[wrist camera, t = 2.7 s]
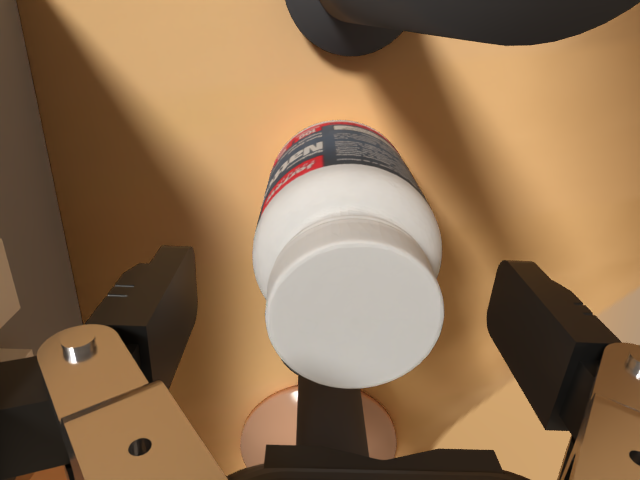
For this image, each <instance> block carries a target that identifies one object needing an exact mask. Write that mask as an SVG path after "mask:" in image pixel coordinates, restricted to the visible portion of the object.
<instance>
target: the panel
mask: <svg viewBox="0 0 640 480" xmlns="http://www.w3.org/2000/svg"><path fill="white" fill-rule="evenodd" d="M80 325H83V323H82V318H81V313H80V308H79V303H78V298H77V293H76V289H75V284H74V279H73V274H72V269H71V264H70V260H69V255H68V250H67V245H66V240H65V235H64V230H63V226H62V221H61V216H60V211H59V206H58V201H57V196H56V192H55V187H54V182H53V177H52V172H51V167H50V162H49V158H48V153H47V148H46V143H45V138H44V133H43V129H42V124H41V119H40V114H39V109H38V104H37V99H36V95H35V90H34V85H33V80H32V75H31V70H30V65H29V61H28V56H27V51H26V46H25V41H24V36H23V32H22V27H21V22H20V17H19V12H18V7H17V2H16V0H0V362H4V361H10V360H16V359H22V358H28V357H33V356H37V351H38V349H39V347H40V346H41V345H42V344H43V343H44V342H45V341H46V340H47V339H48V338H50V337H51V336H53V335H54V334H56V333H58V332H60V331H63V330H65V329H68V328H71V327H75V326H80ZM15 480H68V478H67V475H66V472H65V469H64V465H63V466H58V467H54V468H50V469H46V470H42V471H38V472H34V473H29V474H25V475H21V476H17V477H16V478H15Z"/></svg>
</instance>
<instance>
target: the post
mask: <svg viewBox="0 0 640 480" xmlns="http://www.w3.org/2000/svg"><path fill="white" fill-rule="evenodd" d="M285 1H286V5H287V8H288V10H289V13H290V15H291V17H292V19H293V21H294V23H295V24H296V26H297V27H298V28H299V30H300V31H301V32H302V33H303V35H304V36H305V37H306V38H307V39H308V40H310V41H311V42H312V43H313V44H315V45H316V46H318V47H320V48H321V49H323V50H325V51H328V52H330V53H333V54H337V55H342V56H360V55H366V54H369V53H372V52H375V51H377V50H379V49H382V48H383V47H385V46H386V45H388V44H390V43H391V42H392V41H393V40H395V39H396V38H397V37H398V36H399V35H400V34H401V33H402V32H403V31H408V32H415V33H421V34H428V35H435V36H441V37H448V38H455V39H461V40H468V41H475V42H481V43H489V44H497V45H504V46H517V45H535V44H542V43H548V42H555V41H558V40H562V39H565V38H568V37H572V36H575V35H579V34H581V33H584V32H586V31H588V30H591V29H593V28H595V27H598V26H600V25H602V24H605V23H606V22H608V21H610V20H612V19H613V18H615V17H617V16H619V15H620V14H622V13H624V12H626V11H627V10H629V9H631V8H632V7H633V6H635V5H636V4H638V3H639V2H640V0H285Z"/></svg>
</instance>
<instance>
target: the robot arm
mask: <svg viewBox="0 0 640 480" xmlns="http://www.w3.org/2000/svg"><path fill="white" fill-rule="evenodd" d="M197 302H198V301H197V284H196V268H195V254H194V250H193V248H192V247H186V246H161V247H160V249H159V250H158V252H157V253H156V255H155V256H154V258H153V259H152V261H151V262H150V263H149V264H145V263H139V264H138V265H136V266H134V267H133V268H131V269H129V270H128V271H126V272H124V273H123V275H122V276H121V277H120V279H119V280H118V281H117V282H116V284H115V287H113V288H112V289H111V290H110V292H109V293H108V296H106V297H105V298H104V300H103V301H102V302H101V303H100V305H99V306H98V307H97V309H96V310H95V311H94V313H93V314H92V315H91V317H90V318H89V319H88V320H87V322H86V323H85V324H84V325H80V326H75V327H71V328H68V329H65V330H63V331H60V332H58V333H56V334H54V335H53V336H51V337H50V338H48V339H47V340H46V341H45V342H44V343H43V344H42V345H41V346H40V347H39V349H38V351H37V356H33V357H28V358H22V359H16V360H10V361H4V362H0V480H15V478H16V477H17V476H21V475H25V474H29V473H34V472H38V471H42V470H46V469H50V468H54V467H58V466H63V465H64V469H65V472H66V475H67V478H68V480H530V479H528V478H525V477H523V476H520V475H517V474H514V473H512V472H509V471H504V470H502V468H501V466H500V464H499V461H498V459H497V457H496V454H495V452H494V450H467V449H466V450H464V449H435V450H431V451H426V452H421V453H417V454H412V455H407V456H403V457H398V458H393V459H388V460H379V459H375V458H370V457H366V456H362V455H358V454H354V453H350V452H346V451H342V450H338V449H333V448H329V447H325V446H306V445H266V450H265V460H264V463H263V464H259V465H254V466H251V467H248V468H245V469H242V470H239V471H237V472H235V473H233V474H230V475H228V476H225V474H224V473H223V471H222V470H221V468H220V467H219V465H218V464H217V462H216V461H215V459H214V458H213V456H212V455H211V453H210V452H209V450H208V449H207V447H206V446H205V444H204V443H203V441H202V440H201V438H200V437H199V435H198V434H197V432H196V431H195V429H194V428H193V426H192V425H191V423H190V422H189V420H188V419H187V417H186V416H185V414H184V413H183V411H182V410H181V408H180V407H179V405H178V404H177V402H176V401H175V399H174V398H173V396H172V395H171V393H170V392H169V387H170V385H171V382H172V380H173V377H174V375H175V372H176V370H177V367H178V364H179V362H180V359H181V357H182V354H183V352H184V349H185V347H186V344H187V342H188V339H189V336H190V334H191V331H192V329H193V326H194V324H195V320H196V315H197ZM487 328H488V331H489V334H490V336H491V338H492V339H493V341H494V343H495V345H496V346H497V348H498V350H499V351H500V353H501V355H502V357H503V358H504V360H505V362H506V363H507V365H508V367H509V369H510V370H511V372H512V374H513V375H514V377H515V379H516V381H517V382H518V384H519V386H520V387H521V389H522V391H523V392H524V394H525V396H526V398H527V399H528V401H529V403H530V404H531V406H532V408H533V410H534V411H535V413H536V415H537V416H538V418H539V420H540V421H541V423H542V425H543V427H544V428H545V430H558V431H560V430H561V431H570V433H571V435H572V436H571V438H570V441H569V444H568V446H567V449H566V452H565V456H564V459H563V462H562V466H561V469H560V472H559V476H558V479H557V480H640V345H636V344H630V343H622V342H621V341H620V340H619V339H618V338H617V337H616V336H615V335H614V334H613V333H612V332H611V331H610V330H609V329H608V328H607V327H606V326H605V325H604V324H603V323H602V322H601V321H600V320H599V319H598V318H597V317H596V316H595V315H593V313H592V312H591V311H590V310H589V309H588V308H587V307H586V306H585V305H583V303H582V302H581V301H580V300H579V299H578V298H577V297H576V296H575V295H574V294H573V293H572V292H571V291H570V290H568V289H567V288H565V287H563V286H562V285H560V284H558V283H556V282H555V281H553V280H551V279H550V278H549V277H548V276H547V275H546V274H545V273H544V272H543V271H542V270H541V269H540V268H539V267H538V266H537V265H536V263H534V262H532V261H509V260H504V261H502V262H501V263H500V264H499V266H498V269H497V273H496V277H495V281H494V285H493V289H492V294H491V298H490V302H489V306H488V310H487Z"/></svg>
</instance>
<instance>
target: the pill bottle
mask: <svg viewBox="0 0 640 480" xmlns="http://www.w3.org/2000/svg"><path fill="white" fill-rule="evenodd" d="M252 255H253V268H254V273H255V277H256V281H257V283H258V286H259V288H260V290H261V292H262V294H263V296H264V297H265V299H266V310H265V321H266V327H267V331H268V336H269V339H270V341H271V343H272V345H273V347H274V349H275V350H276V352H277V354H278V355H279V356H280V358H281V359H282V360H283V361H284V362H285V363H286V364H287V365H288V366H289V367H290V368H291V369H293V370H294V371H295V372H297V373H298V374H300V375H301V376H303V377H305V378H307V379H309V380H311V381H314V382H316V383H319V384H322V385H326V386H330V387H335V388H345V389H356V388H368V387H374V386H378V385H381V384H385V383H388V382H390V381H393V380H395V379H397V378H399V377H401V376H403V375H405V374H406V373H408V372H410V371H411V370H412V369H414V368H415V367H416V366H418V365H419V364H420V363H421V362H422V361H423V360H424V359H425V358H426V357H427V356H428V354H429V353H430V352H431V350H432V349H433V347H434V345H435V344H436V342H437V340H438V338H439V336H440V333H441V330H442V326H443V320H444V302H443V296H442V293H441V289H440V286H439V284H438V281H437V276H438V274H439V270H440V267H441V259H442V240H441V233H440V230H439V226H438V223H437V221H436V218H435V216H434V214H433V211H432V209H431V208H430V206H429V204H428V202H427V200H426V199H425V197H424V195H423V193H422V192H421V190H420V188H419V186H418V185H417V183H416V181H415V180H414V178H413V176H412V175H411V173H410V171H409V169H408V168H407V166H406V165H405V163H404V161H403V160H402V158H401V156H400V154H399V153H398V151H397V150H396V149H395V147H394V146H393V145H392V144H391V143H390V141H389V140H388V139H387V138H385V137H384V136H383V135H382V134H381V133H379V132H378V131H376V130H375V129H373V128H371V127H369V126H367V125H364V124H361V123H358V122H354V121H347V120H331V121H324V122H320V123H317V124H314V125H311V126H309V127H307V128H305V129H303V130H302V131H300V132H299V133H297V134H296V135H295V136H294V137H292V138H291V139H290V140H289V141H288V142H287V143H286V144H285V146H284V147H283V148H282V150H281V151H280V153H279V154H278V156H277V158H276V160H275V162H274V165H273V168H272V170H271V173H270V177H269V181H268V185H267V189H266V192H265V196H264V200H263V204H262V208H261V212H260V216H259V220H258V223H257V227H256V231H255V236H254V242H253V252H252Z"/></svg>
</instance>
